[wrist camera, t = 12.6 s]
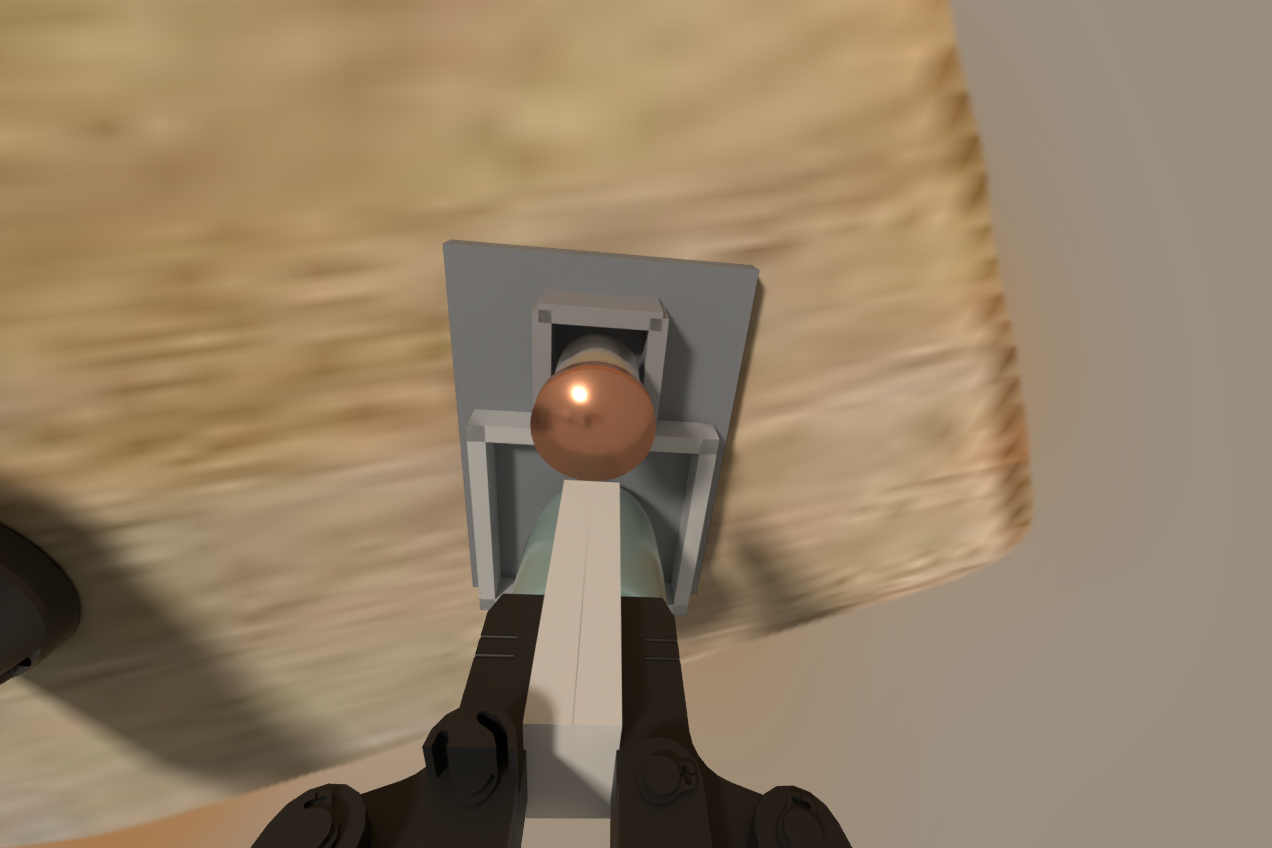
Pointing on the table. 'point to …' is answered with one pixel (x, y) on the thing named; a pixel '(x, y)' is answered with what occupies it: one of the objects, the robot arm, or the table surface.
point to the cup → (636, 551)
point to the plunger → (594, 411)
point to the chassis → (528, 356)
